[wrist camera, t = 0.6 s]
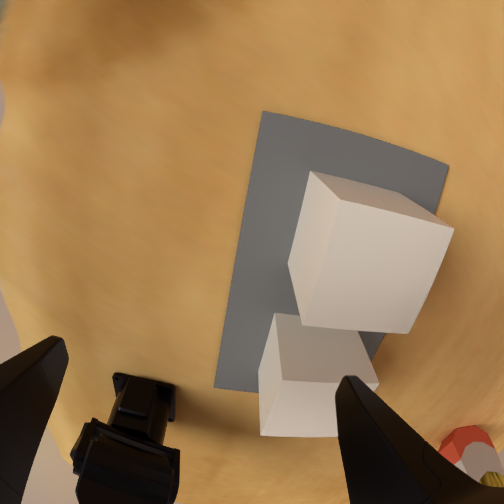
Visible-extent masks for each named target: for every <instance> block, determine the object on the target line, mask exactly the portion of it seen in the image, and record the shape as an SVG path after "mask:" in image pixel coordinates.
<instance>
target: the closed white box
mask: <svg viewBox="0 0 504 504" xmlns="http://www.w3.org/2000/svg"><path fill="white" fill-rule="evenodd" d="M453 232H454V228H453V227H451V226H450V225H448V224H447V223H445V222H444V221H442V220H441V219H439V218H438V217H436V216H435V215H433V214H432V213H430V212H429V211H427V210H426V209H424V208H423V207H421V206H420V205H418V204H416V203H415V202H413V201H412V200H410V199H408V198H407V197H405V196H404V195H402V194H400V193H398V192H394V191H391V190H387V189H384V188H380V187H376V186H372V185H369V184H365V183H361V182H357V181H353V180H349V179H345V178H341V177H336V176H332V175H328V174H323V173H319V172H314V171H310V173H309V178H308V182H307V186H306V191H305V195H304V199H303V203H302V207H301V212H300V216H299V220H298V224H297V228H296V232H295V236H294V240H293V244H292V248H291V252H290V256H289V260H288V267H289V271H290V275H291V280H292V284H293V288H294V292H295V296H296V301H297V305H298V309H299V314H300V318H301V322H302V325H304V326H314V327H323V328H334V329H345V330H357V331H369V332H384V333H400V334H408V333H409V332H410V330H411V328H412V326H413V324H414V322H415V320H416V318H417V316H418V314H419V312H420V310H421V308H422V306H423V304H424V302H425V299H426V297H427V295H428V293H429V291H430V289H431V286H432V284H433V282H434V280H435V277H436V275H437V273H438V270H439V268H440V266H441V263H442V261H443V258H444V256H445V253H446V251H447V248H448V245H449V243H450V240H451V237H452V235H453Z"/></svg>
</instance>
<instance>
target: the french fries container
mask: <svg viewBox="0 0 504 504" xmlns="http://www.w3.org/2000/svg"><path fill="white" fill-rule="evenodd" d="M438 452H439V453H440V454H441V455H442V456H443V457H445V458H446V459H447V460H449V461H450V462H451V463H452V464H454V465H455V466H456V467H458V468H459V469H461V470H462V471H463V472H465V473H466V474H467V475H469V476H470V477H472V478H473V479H474V480H476V481H477V482H479V483H481V484H484V485H487V486H492V487H504V469H503V467H502V464H501V462H500V460H499V457H498V454H497V452H496V450H495V448H494V446H493V444H492V442H491V440H490V438H489V436H488V434H487V433H486V432H484V431H483V430H481V429H480V428H478V427H477V426H475V425H473V426H467V427H461V428H457V429H456V430H455V431H453V432H452V433H451V434H450V435H449V436H448V437H447V438H446V439H445V440H444V441H443V442H442V443H441V446H440V448H439V450H438Z"/></svg>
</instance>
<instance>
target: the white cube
mask: <svg viewBox="0 0 504 504" xmlns="http://www.w3.org/2000/svg"><path fill="white" fill-rule="evenodd" d="M345 375H356V376H358V377H359V378H360V379H361V380H362V381H363V382H364V383H365V384H366V385H367V386H368V387H369V388H370V389H371V390H372V391H373V392H374V391H375V390H376V388H377V387H378V385H379V381H378V378H377V376H376V373H375V371H374V368H373V366H372V364H371V361H370V359H369V356H368V354H367V352H366V349H365V347H364V345H363V342H362V340H361V338H360V335H359V333H358V331H357V330H345V329H334V328H323V327H314V326H304V325H302V322H301V318H300V316H298V315H290V314H282V313H274V317H273V320H272V324H271V328H270V331H269V335H268V338H267V342H266V345H265V349H264V353H263V356H262V360H261V363H260V366H259V370H258V382H259V411H260V435H261V436H279V437H338V431H337V418H336V406H335V393H336V390H337V388H338V386H339V384H340V382H341V380H342V378H343V377H344V376H345Z"/></svg>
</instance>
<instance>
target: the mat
mask: <svg viewBox="0 0 504 504" xmlns="http://www.w3.org/2000/svg"><path fill="white" fill-rule="evenodd" d="M448 166H449V165H447V164H444V163H442V162H440V161H437V160H434V159H432V158H429V157H427V156H424V155H421V154H419V153H416V152H413V151H411V150H408V149H405V148H402V147H399V146H396V145H393V144H390V143H387V142H384V141H381V140H378V139H375V138H371V137H368V136H365V135H362V134H358V133H355V132H351V131H348V130H344V129H340V128H337V127H333V126H329V125H325V124H321V123H317V122H313V121H309V120H304V119H300V118H295V117H291V116H286V115H281V114H276V113H271V112H266V111H263V112H262V117H261V122H260V128H259V133H258V138H257V143H256V149H255V154H254V159H253V165H252V170H251V175H250V181H249V186H248V192H247V197H246V203H245V208H244V214H243V219H242V225H241V230H240V236H239V242H238V247H237V253H236V259H235V264H234V270H233V276H232V282H231V287H230V293H229V299H228V305H227V311H226V317H225V323H224V329H223V335H222V341H221V347H220V353H219V359H218V365H217V372H216V378H215V384H214V388H220V389H228V390H236V391H244V392H254V393H259V382H258V370H259V366H260V363H261V360H262V356H263V353H264V349H265V345H266V342H267V338H268V335H269V331H270V328H271V324H272V320H273V317H274V313H282V314H290V315H298V316H300V314H299V309H298V305H297V301H296V296H295V292H294V288H293V284H292V280H291V275H290V271H289V267H288V260H289V256H290V252H291V248H292V244H293V240H294V236H295V232H296V228H297V224H298V220H299V216H300V212H301V207H302V203H303V199H304V195H305V191H306V186H307V182H308V178H309V173H310V171H314V172H319V173H323V174H328V175H332V176H336V177H341V178H345V179H349V180H353V181H357V182H361V183H365V184H369V185H372V186H376V187H380V188H384V189H387V190H391V191H394V192H398V193H400V194H402V195H404V196H405V197H407V198H408V199H410V200H412V201H413V202H415V203H416V204H418V205H420V206H421V207H423V208H424V209H426V210H427V211H429V212H430V213H432V214H433V215H434V214H435V211H436V208H437V205H438V202H439V198H440V195H441V192H442V188H443V185H444V181H445V178H446V174H447V170H448ZM358 333H359V335H360V338H361V340H362V342H363V345H364V347H365V349H366V352H367V354H368V356H369V359H370V361H371V360H372V358H373V356H374V354H375V352H376V351H377V349H378V347H379V345H380V343H381V341H382V339H383V337H384V335H385V333H384V332H369V331H358Z"/></svg>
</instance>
